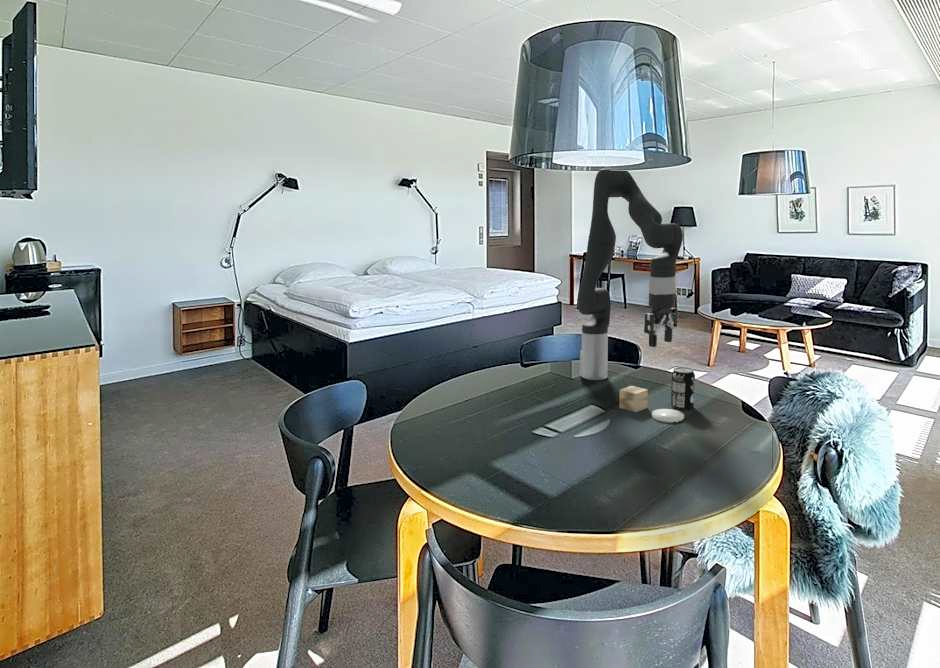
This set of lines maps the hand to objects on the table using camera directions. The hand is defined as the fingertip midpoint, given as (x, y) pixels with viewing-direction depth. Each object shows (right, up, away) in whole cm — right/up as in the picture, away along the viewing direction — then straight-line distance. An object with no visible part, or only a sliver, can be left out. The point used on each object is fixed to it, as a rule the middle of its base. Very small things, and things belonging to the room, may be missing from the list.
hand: (660, 344), depth 169 cm
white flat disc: (0, -22, -5) cm, 22 cm away
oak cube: (-7, -20, +4) cm, 22 cm away
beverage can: (+8, -20, +3) cm, 21 cm away
